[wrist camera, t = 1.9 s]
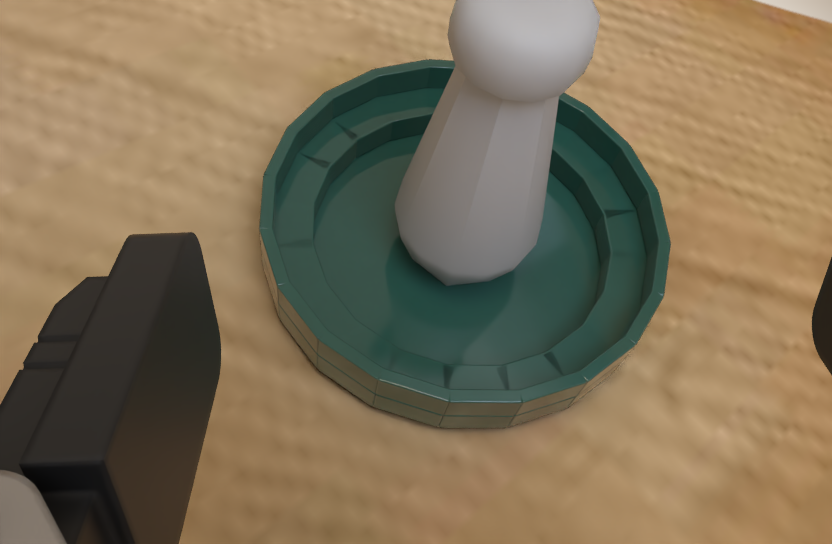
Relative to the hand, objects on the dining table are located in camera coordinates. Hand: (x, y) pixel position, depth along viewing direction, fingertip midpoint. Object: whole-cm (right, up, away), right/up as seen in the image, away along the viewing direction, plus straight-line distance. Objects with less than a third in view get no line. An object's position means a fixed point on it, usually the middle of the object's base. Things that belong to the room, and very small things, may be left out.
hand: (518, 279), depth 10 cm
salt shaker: (0, +1, +23) cm, 23 cm away
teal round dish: (0, +1, +23) cm, 23 cm away
